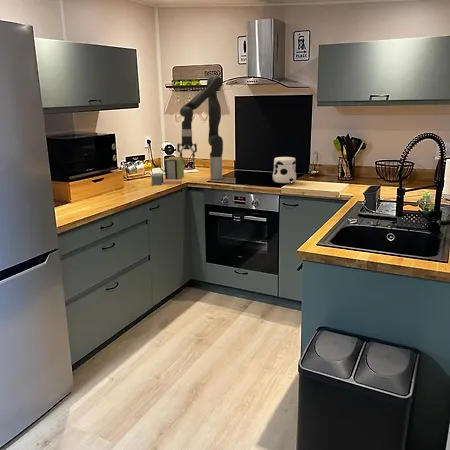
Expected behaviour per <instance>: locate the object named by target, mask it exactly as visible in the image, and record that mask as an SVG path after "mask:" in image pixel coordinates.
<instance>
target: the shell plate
mask: <svg viewBox="0 0 450 450" xmlns="http://www.w3.org/2000/svg"><path fill="white" fill-rule="evenodd" d="M182 182H183V180H182V178H180V179H165V178H164V181H163V182H162V185H181V184H182Z"/></svg>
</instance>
